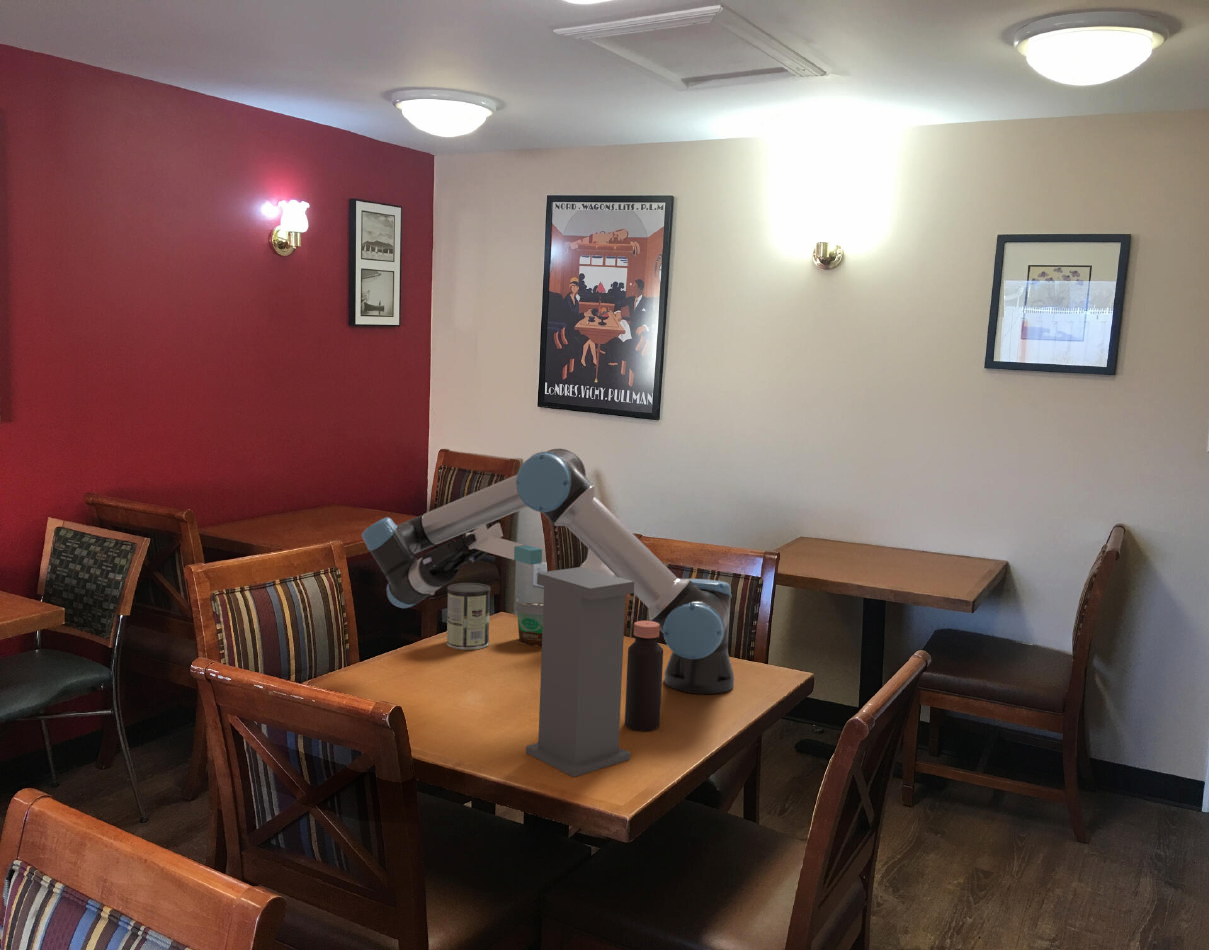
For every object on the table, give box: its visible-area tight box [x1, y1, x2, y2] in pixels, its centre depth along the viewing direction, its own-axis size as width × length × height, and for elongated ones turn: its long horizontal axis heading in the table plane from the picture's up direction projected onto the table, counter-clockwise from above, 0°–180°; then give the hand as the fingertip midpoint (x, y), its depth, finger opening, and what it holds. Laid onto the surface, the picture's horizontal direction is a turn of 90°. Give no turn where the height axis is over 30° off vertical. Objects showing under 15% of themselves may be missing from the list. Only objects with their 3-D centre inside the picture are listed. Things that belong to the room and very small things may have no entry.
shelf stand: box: [525, 566, 634, 778], centre depth 175 cm, size 14×13×32 cm
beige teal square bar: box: [465, 531, 543, 566], centre depth 192 cm, size 21×3×3 cm, turn 42°
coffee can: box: [446, 582, 491, 651], centre depth 242 cm, size 10×10×14 cm
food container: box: [514, 598, 544, 646], centre depth 245 cm, size 12×6×10 cm, turn 81°
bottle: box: [624, 620, 664, 732], centre depth 192 cm, size 7×7×20 cm
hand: (492, 530), depth 194 cm, fingers closed on beige teal square bar, 3 cm apart
